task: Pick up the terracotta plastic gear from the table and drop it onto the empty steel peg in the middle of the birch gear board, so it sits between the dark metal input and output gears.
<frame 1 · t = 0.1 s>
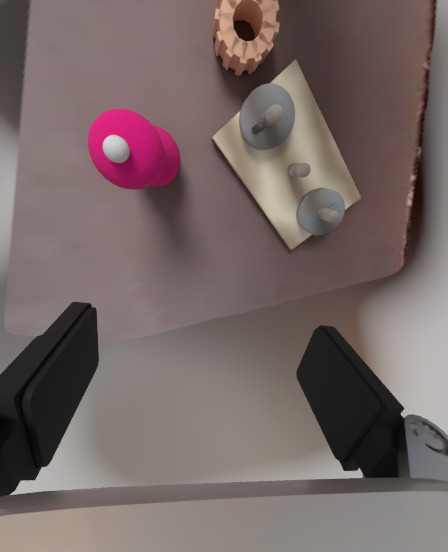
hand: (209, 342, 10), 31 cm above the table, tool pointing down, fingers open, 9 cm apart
gear: (241, 38, 29), on the table
gear board: (289, 169, 36), on the table
pepper mill: (157, 158, 34), on the table
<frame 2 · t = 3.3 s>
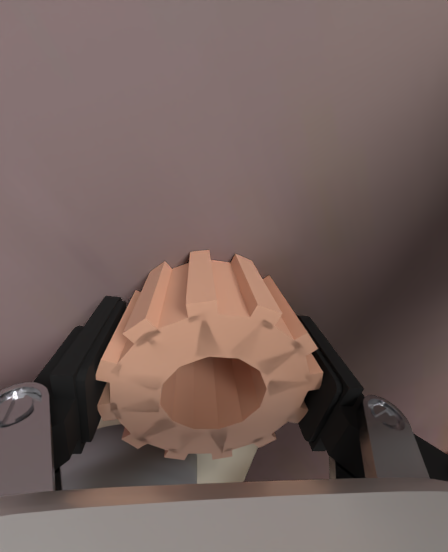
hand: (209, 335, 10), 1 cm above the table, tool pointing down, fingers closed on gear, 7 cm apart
gear: (208, 322, 11), on the table, touching gripper
gear board: (134, 500, 17), on the table
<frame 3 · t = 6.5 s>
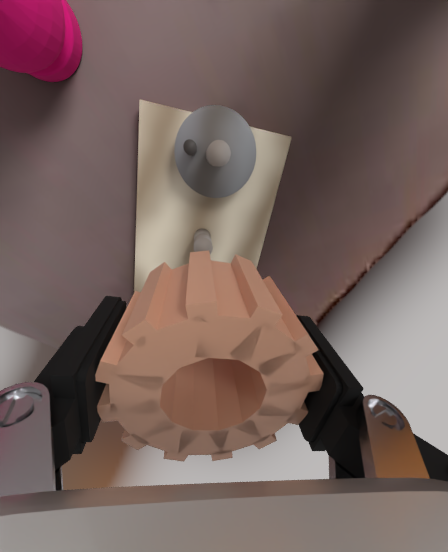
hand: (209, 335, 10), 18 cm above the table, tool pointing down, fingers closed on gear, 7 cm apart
gear: (208, 322, 11), point 17 cm above the table, touching gripper
gear board: (202, 232, 27), on the table
pepper mill: (42, 34, 18), on the table
when the fingers open (4 cm above the table, at t = 9.8 s): gear drops 1 cm, resting on gear board.
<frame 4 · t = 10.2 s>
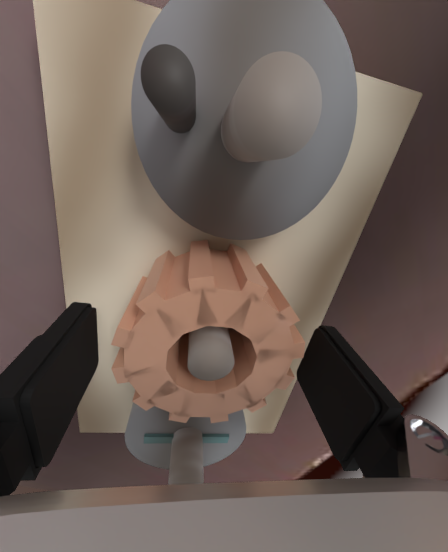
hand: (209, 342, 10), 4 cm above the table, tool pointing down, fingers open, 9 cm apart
gear: (207, 305, 12), point 1 cm above the table, touching gear board
gear board: (205, 293, 14), on the table
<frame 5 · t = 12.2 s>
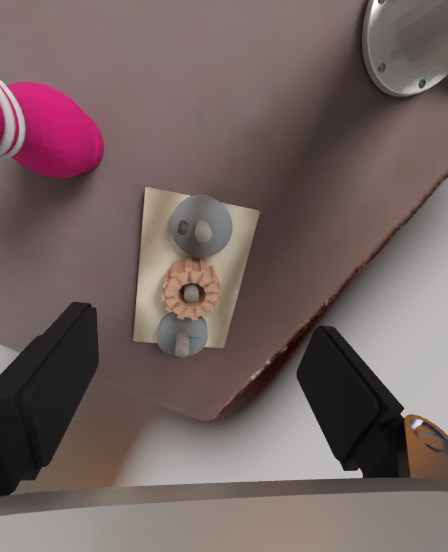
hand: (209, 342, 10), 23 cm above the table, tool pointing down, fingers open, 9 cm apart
gear: (191, 281, 32), point 1 cm above the table, touching gear board
gear board: (191, 277, 33), on the table
pepper mill: (73, 141, 25), on the table
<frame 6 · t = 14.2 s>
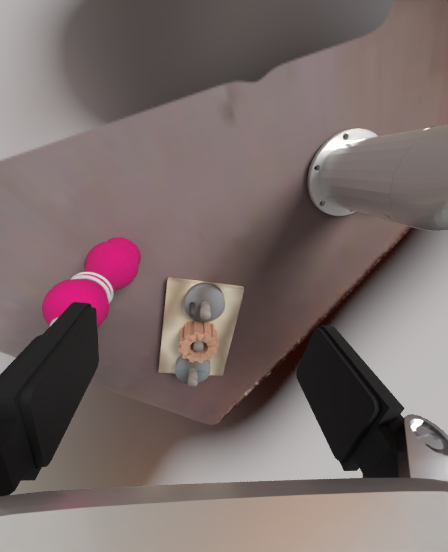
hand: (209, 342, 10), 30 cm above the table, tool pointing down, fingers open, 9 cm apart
gear: (198, 333, 45), point 1 cm above the table, touching gear board
gear board: (198, 329, 47), on the table
pepper mill: (121, 254, 39), on the table
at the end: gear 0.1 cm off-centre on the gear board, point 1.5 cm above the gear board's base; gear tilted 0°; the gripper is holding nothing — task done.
